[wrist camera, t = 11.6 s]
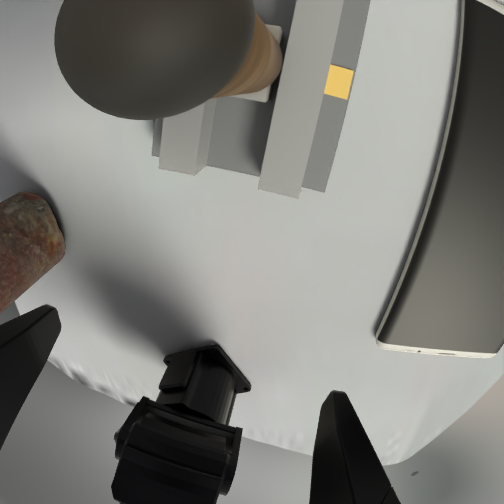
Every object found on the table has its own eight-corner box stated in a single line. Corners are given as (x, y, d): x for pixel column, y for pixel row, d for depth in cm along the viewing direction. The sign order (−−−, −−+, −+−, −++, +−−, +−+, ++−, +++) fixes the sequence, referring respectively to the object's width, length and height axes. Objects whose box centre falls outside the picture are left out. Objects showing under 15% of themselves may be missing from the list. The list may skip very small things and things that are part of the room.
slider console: (323, 181, 19) (326, 205, 15) (165, 148, 19) (135, 164, 16) (376, -65, 10) (389, -93, 6) (212, -87, 10) (191, -114, 7)
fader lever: (282, 102, 15) (200, 153, 4) (213, 90, 15) (8, 132, 4) (296, 37, 13) (254, -102, 2) (225, 27, 13) (38, -60, 2)
